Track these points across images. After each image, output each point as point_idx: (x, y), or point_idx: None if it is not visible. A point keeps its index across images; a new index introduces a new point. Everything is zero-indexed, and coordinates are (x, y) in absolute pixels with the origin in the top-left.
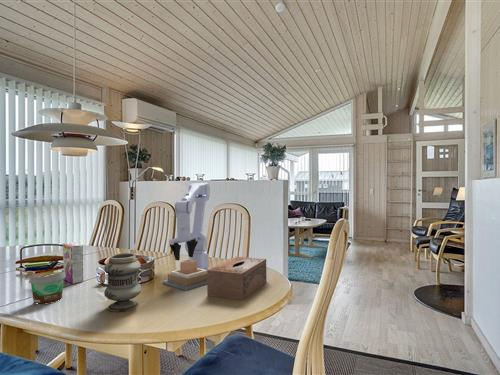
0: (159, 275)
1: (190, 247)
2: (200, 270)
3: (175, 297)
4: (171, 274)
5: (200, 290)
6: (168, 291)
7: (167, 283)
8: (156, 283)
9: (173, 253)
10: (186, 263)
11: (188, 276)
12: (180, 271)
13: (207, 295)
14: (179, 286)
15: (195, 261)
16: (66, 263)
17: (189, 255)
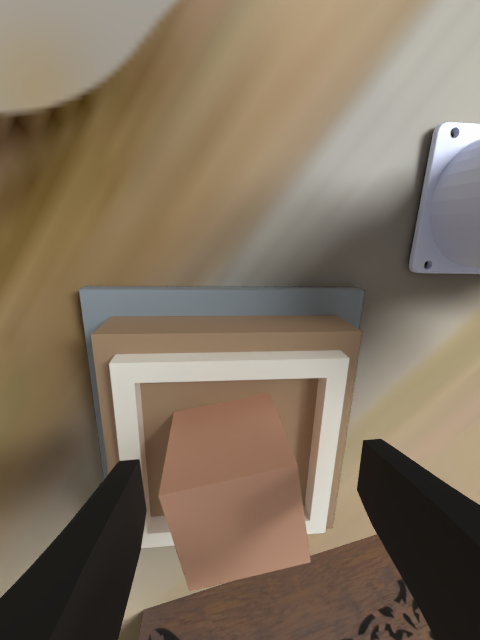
0: (198, 35)
1: (475, 633)
2: (310, 484)
3: (7, 550)
4: (105, 377)
5: (169, 546)
6: (26, 455)
7: (89, 347)
8: (46, 249)
9: (46, 549)
10: (181, 558)
11: (145, 539)
12: (172, 425)
13: (143, 610)
14: (102, 467)
15: (289, 566)
16: None
17: (371, 469)
